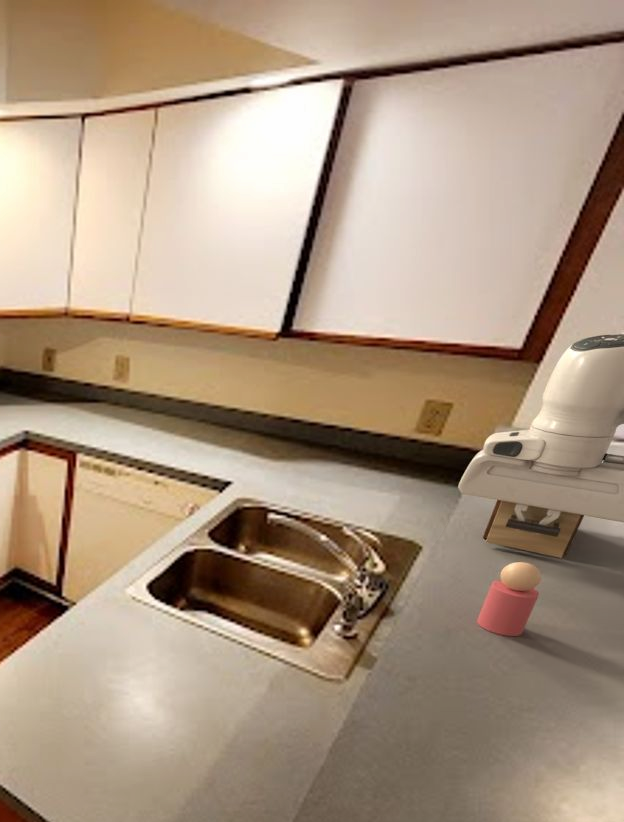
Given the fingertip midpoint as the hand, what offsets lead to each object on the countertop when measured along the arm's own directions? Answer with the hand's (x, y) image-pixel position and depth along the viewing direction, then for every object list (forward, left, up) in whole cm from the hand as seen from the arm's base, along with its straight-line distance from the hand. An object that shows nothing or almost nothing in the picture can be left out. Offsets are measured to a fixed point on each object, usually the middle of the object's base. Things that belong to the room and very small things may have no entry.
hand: (528, 531), depth 99 cm
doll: (+7, +26, -5) cm, 27 cm away
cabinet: (-4, -13, -5) cm, 14 cm away
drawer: (-2, -6, -4) cm, 8 cm away
